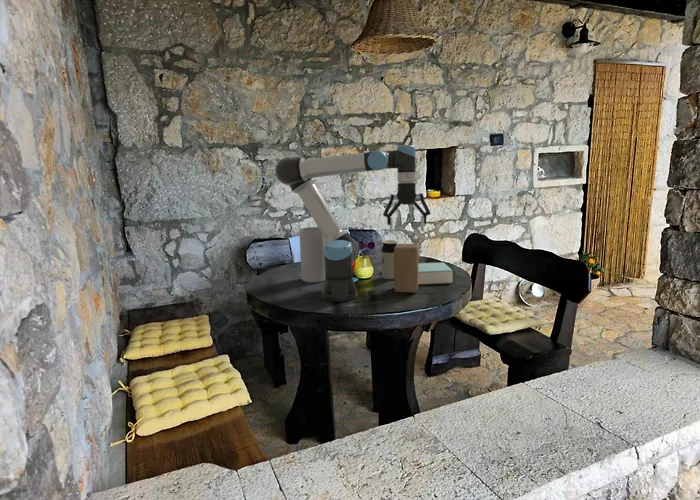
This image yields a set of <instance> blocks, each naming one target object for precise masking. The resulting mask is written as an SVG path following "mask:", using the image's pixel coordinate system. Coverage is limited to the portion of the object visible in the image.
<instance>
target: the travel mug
mask: <svg viewBox="0 0 700 500" xmlns="http://www.w3.org/2000/svg"><path fill="white" fill-rule="evenodd" d="M381 242H382V247H381V278H383V279H385V280H394V248H395V246H396V244H398V241H397V240H396V239H395V240H393V239H386V240H381Z"/></svg>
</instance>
